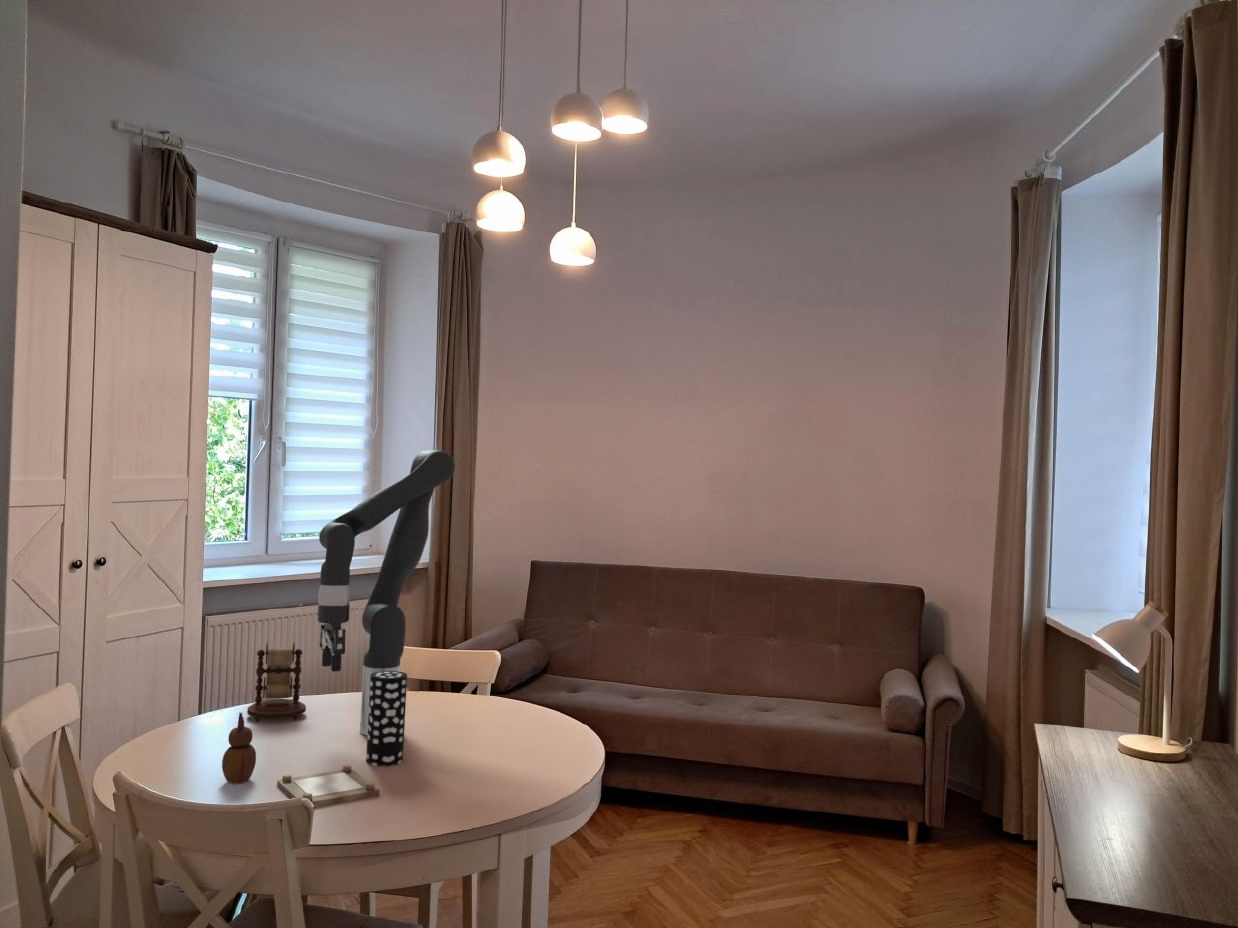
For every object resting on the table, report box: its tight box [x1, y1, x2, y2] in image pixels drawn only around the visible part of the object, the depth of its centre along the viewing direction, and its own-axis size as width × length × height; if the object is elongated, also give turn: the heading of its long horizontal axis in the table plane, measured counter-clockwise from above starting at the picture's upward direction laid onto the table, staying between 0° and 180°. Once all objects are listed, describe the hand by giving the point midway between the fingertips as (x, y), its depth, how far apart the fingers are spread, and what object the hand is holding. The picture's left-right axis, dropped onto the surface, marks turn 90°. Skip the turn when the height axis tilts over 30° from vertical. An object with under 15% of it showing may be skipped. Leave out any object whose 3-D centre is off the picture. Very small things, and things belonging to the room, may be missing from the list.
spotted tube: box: [365, 671, 408, 767], centre depth 211 cm, size 8×8×20 cm
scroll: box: [246, 641, 307, 723], centre depth 244 cm, size 15×15×20 cm
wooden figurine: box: [221, 711, 257, 784], centre depth 193 cm, size 7×6×15 cm
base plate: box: [276, 764, 381, 808], centre depth 189 cm, size 16×16×2 cm
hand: (331, 668), depth 225 cm, fingers open, 8 cm apart
